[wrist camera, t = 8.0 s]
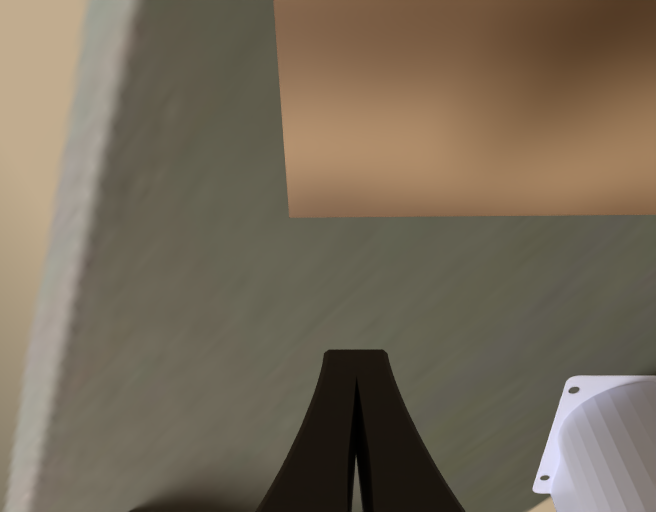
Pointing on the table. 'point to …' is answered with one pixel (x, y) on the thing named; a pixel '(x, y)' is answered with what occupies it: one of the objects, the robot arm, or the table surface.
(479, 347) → the table surface
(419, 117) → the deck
